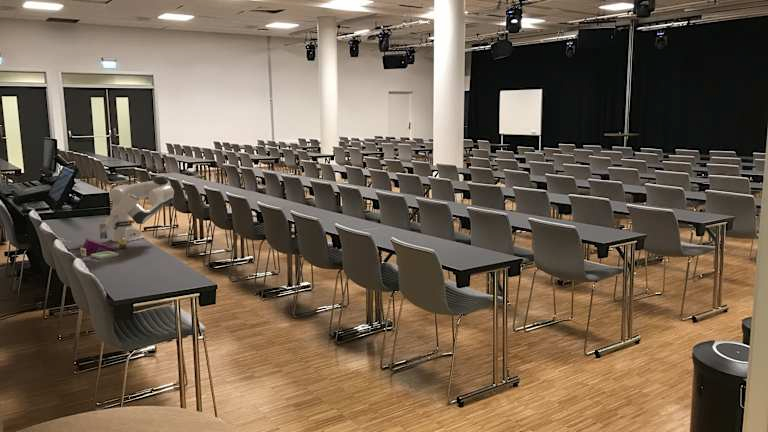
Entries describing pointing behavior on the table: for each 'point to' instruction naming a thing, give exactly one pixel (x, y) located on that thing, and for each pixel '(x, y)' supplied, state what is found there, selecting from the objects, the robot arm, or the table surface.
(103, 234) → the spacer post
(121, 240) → the gold metallic cylinder
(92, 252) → the mounting bracket
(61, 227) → the table surface
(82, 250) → the label tile
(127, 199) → the robot arm
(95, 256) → the parts tray
